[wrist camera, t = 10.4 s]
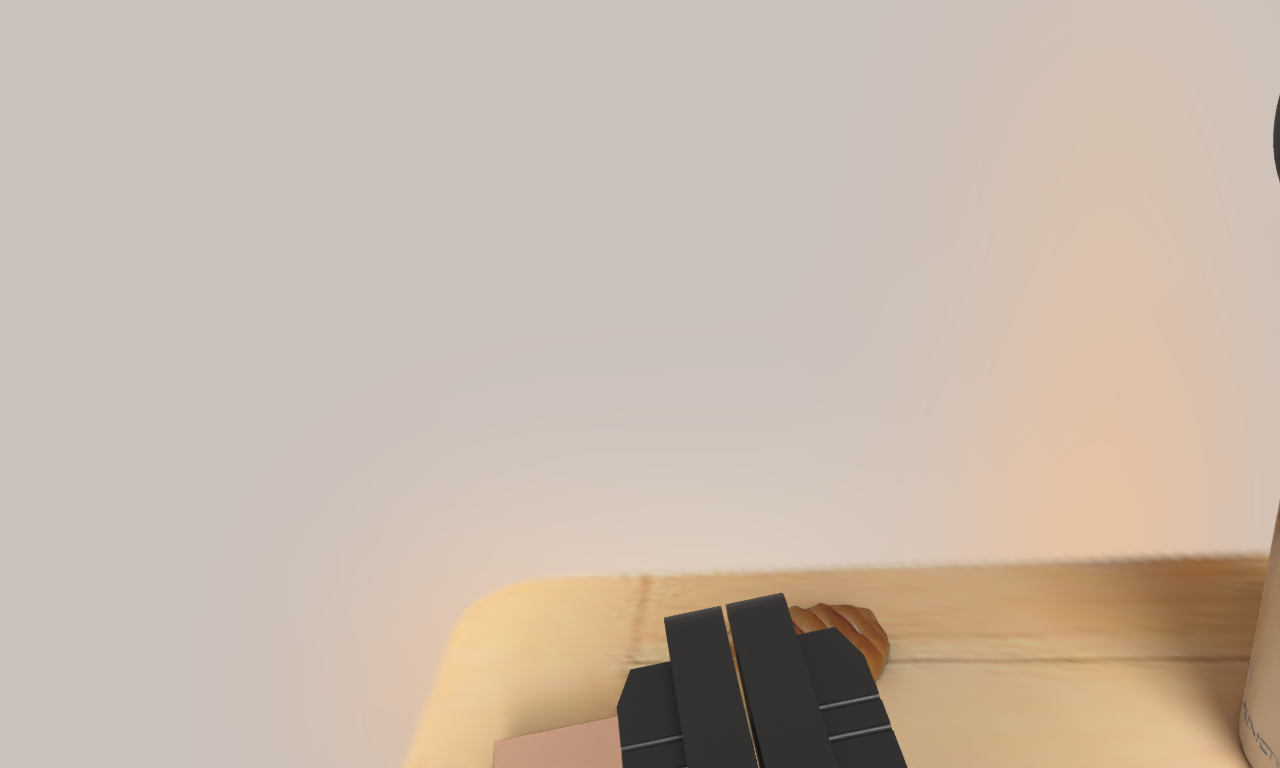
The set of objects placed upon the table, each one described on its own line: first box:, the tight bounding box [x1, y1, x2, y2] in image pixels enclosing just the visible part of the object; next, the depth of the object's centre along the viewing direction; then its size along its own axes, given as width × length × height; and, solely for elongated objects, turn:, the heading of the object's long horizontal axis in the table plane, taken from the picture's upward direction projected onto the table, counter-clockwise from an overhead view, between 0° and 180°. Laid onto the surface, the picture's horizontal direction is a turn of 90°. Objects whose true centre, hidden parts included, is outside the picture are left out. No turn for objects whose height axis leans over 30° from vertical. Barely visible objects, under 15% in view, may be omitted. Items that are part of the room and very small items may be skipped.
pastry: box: [728, 603, 890, 740], centre depth 51 cm, size 9×7×4 cm
